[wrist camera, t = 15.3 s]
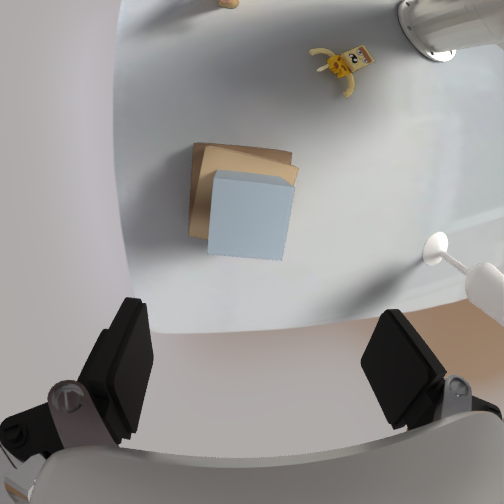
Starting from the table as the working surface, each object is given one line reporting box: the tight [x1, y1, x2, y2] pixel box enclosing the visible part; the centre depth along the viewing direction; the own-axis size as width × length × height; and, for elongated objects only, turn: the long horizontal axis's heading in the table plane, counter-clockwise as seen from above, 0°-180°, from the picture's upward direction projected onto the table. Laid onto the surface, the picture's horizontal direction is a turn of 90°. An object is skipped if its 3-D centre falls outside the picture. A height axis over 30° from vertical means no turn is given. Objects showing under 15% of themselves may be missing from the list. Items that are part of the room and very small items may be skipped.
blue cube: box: [207, 169, 295, 261], centre depth 23 cm, size 6×6×6 cm
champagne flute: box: [423, 232, 504, 327], centre depth 30 cm, size 7×7×24 cm
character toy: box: [309, 45, 375, 98], centre depth 27 cm, size 8×3×8 cm
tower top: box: [189, 146, 299, 240], centre depth 28 cm, size 9×9×5 cm
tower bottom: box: [189, 143, 292, 230], centre depth 33 cm, size 11×11×5 cm
